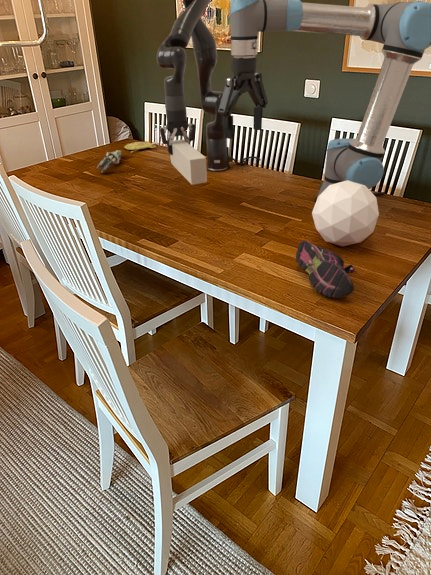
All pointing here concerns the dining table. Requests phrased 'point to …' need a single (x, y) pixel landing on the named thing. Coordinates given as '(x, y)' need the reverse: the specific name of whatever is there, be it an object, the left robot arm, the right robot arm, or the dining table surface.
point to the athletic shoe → (325, 270)
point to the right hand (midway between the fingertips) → (243, 133)
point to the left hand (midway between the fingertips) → (179, 153)
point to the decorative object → (139, 146)
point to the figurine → (110, 160)
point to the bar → (189, 162)
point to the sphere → (345, 213)
